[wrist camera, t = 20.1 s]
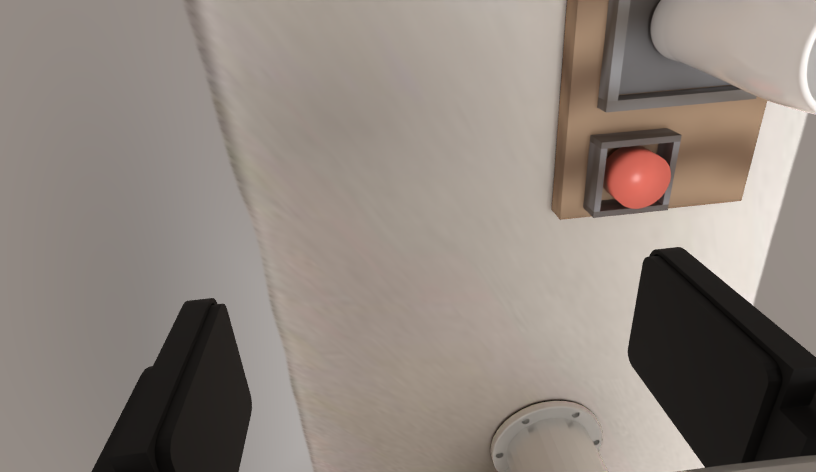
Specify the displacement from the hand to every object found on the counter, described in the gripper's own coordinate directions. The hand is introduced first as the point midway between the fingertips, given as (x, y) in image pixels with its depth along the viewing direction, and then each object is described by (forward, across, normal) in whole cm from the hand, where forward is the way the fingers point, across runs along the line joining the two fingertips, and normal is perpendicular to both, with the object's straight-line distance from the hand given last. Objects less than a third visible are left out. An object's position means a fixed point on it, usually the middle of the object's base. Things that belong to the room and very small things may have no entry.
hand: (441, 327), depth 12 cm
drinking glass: (+28, -22, -3) cm, 36 cm away
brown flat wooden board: (+30, -22, +1) cm, 38 cm away
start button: (+28, -19, +8) cm, 35 cm away
